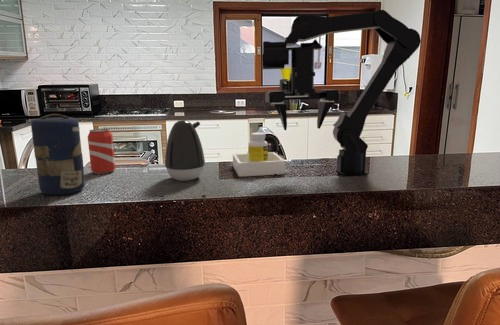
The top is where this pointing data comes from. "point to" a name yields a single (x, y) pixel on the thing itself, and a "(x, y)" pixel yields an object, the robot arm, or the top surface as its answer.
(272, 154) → the tray
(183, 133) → the pump dispenser
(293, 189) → the top surface
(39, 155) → the canister
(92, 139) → the beverage can
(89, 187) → the top surface
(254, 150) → the supplement bottle
